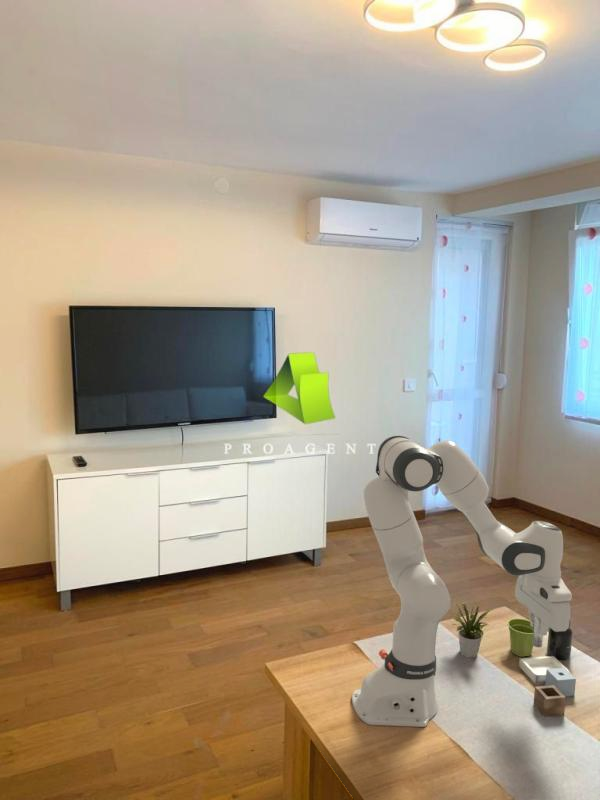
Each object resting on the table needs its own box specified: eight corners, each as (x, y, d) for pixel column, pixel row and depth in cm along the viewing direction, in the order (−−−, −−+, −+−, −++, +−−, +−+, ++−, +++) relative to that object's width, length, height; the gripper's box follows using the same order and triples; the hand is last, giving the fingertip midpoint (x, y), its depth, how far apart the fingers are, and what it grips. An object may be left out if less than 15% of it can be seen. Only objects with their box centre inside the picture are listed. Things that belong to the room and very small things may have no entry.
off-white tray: (535, 683, 179) (536, 675, 179) (518, 666, 188) (519, 658, 188) (570, 680, 182) (571, 672, 181) (552, 663, 190) (553, 655, 190)
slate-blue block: (556, 697, 173) (557, 680, 173) (545, 685, 179) (546, 669, 178) (574, 695, 174) (576, 678, 174) (562, 684, 180) (564, 667, 179)
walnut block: (544, 716, 165) (546, 699, 164) (533, 704, 170) (535, 686, 169) (564, 715, 166) (565, 697, 165) (552, 702, 171) (553, 685, 170)
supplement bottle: (572, 663, 191) (576, 625, 189) (548, 660, 192) (552, 622, 191) (567, 651, 198) (571, 615, 196) (544, 648, 199) (548, 612, 197)
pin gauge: (535, 647, 170) (538, 616, 168) (530, 643, 172) (533, 611, 171) (543, 647, 170) (546, 615, 169) (538, 642, 172) (541, 611, 171)
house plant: (433, 654, 193) (436, 603, 191) (450, 636, 205) (453, 588, 203) (479, 670, 185) (483, 617, 183) (494, 650, 197) (498, 600, 195)
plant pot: (540, 650, 198) (542, 624, 197) (533, 663, 190) (535, 636, 189) (509, 641, 203) (511, 615, 202) (501, 653, 195) (504, 627, 194)
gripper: (511, 566, 178) (507, 613, 180) (554, 599, 158) (549, 651, 160) (531, 565, 179) (527, 611, 181) (576, 597, 159) (571, 649, 161)
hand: (538, 630), depth 170 cm, fingers closed on pin gauge, 2 cm apart
